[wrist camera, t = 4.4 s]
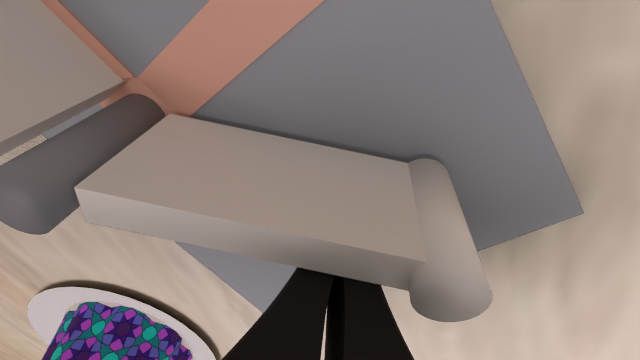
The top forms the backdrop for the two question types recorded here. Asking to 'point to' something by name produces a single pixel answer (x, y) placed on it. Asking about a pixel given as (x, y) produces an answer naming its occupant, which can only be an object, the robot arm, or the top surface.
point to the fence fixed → (56, 115)
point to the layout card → (343, 96)
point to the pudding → (108, 328)
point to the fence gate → (296, 209)
